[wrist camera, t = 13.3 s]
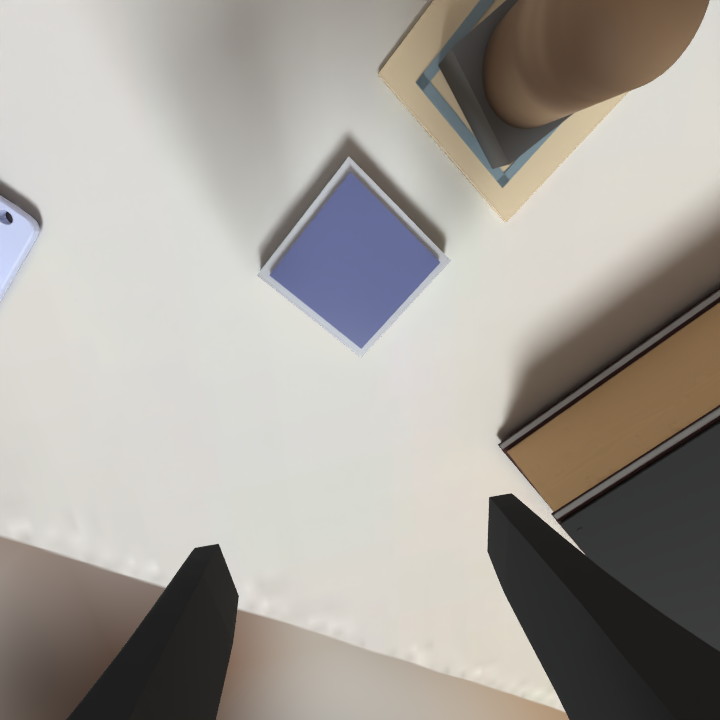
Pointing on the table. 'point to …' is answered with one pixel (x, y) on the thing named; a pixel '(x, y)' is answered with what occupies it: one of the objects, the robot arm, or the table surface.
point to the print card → (447, 122)
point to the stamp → (560, 63)
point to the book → (642, 468)
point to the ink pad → (354, 260)
